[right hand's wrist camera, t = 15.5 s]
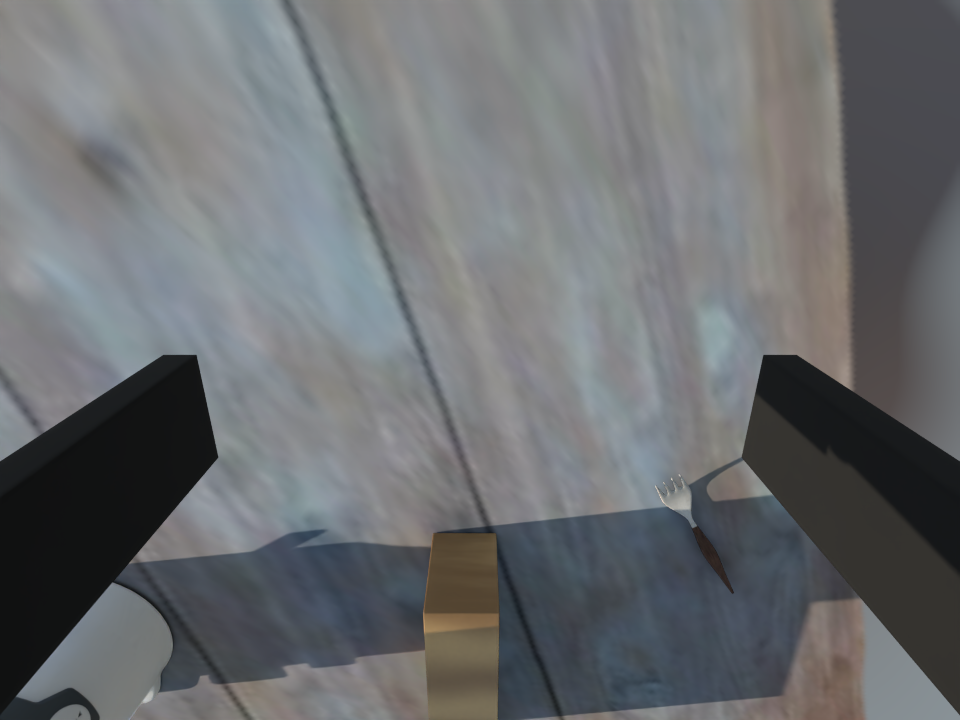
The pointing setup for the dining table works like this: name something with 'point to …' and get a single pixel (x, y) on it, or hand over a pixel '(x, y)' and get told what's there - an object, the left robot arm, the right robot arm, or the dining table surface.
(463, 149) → the dining table surface
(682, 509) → the fork
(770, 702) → the dining table surface
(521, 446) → the dining table surface
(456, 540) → the bar
